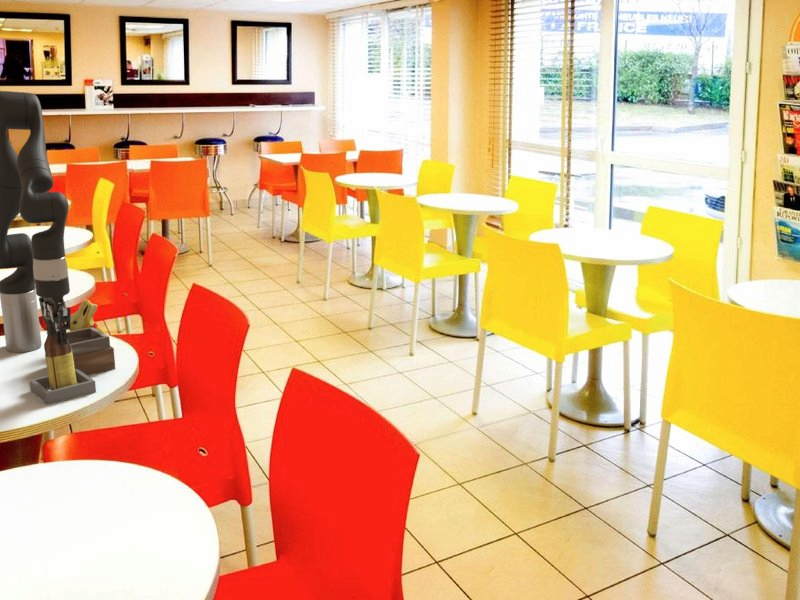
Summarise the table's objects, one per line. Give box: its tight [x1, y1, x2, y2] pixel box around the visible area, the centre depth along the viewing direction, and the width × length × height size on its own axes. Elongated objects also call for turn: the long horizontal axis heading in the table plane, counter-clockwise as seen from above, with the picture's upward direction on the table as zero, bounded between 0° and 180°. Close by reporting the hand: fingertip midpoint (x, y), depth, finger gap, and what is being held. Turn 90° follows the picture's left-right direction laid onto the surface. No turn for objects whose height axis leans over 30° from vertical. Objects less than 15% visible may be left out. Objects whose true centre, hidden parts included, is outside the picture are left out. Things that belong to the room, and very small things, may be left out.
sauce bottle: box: [43, 316, 78, 391], centre depth 191 cm, size 6×6×20 cm
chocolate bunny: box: [68, 298, 107, 335], centre depth 220 cm, size 7×11×15 cm, turn 105°
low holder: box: [29, 369, 97, 405], centre depth 193 cm, size 11×12×3 cm
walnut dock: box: [66, 327, 116, 376], centre depth 208 cm, size 13×13×9 cm
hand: (58, 341), depth 190 cm, fingers closed on sauce bottle, 5 cm apart
